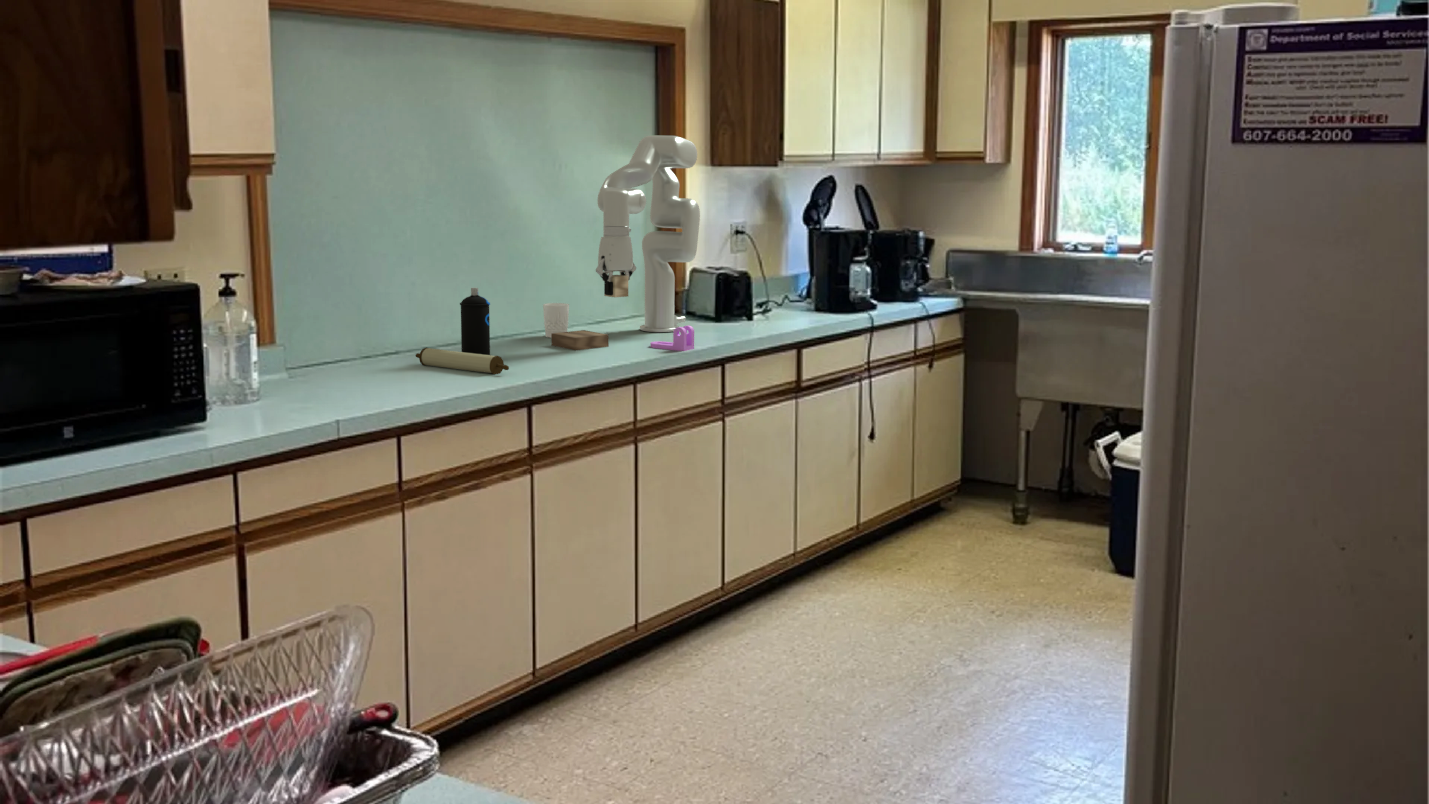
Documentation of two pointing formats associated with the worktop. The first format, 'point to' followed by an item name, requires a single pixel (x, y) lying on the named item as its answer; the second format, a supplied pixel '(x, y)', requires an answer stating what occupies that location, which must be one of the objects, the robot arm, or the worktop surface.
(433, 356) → the rolling pin
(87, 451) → the worktop surface
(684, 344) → the bracket
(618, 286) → the maple block
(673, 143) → the robot arm
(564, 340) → the base block
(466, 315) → the aerosol can
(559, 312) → the white cup
